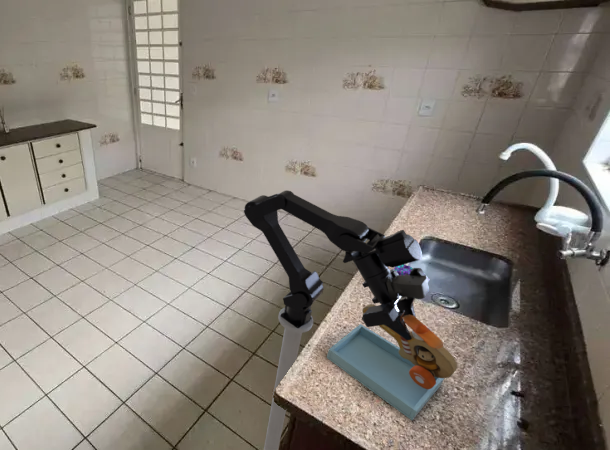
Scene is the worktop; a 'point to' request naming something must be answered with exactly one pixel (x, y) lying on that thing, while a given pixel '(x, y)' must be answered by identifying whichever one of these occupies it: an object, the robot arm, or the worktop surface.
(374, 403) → the worktop surface
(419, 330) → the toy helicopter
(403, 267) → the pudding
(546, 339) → the worktop surface
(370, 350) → the teal tray
